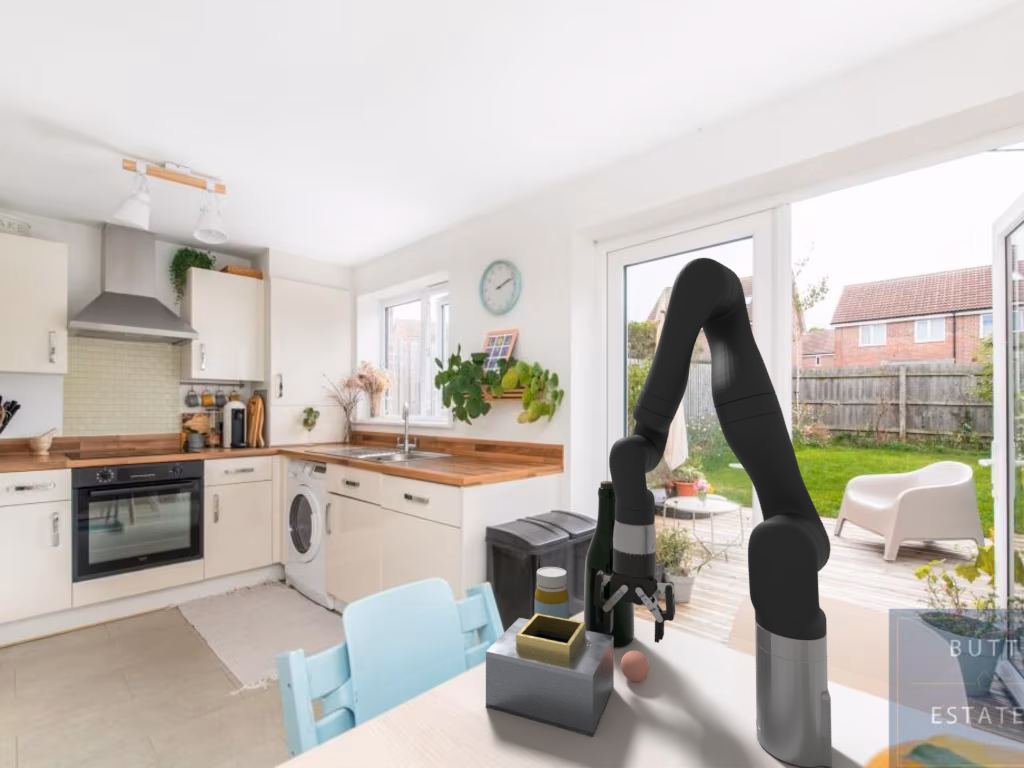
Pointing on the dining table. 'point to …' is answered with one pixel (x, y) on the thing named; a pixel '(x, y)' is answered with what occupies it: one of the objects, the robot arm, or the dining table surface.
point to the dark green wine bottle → (603, 560)
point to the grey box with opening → (551, 673)
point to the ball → (635, 666)
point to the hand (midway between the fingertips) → (633, 635)
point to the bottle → (552, 592)
